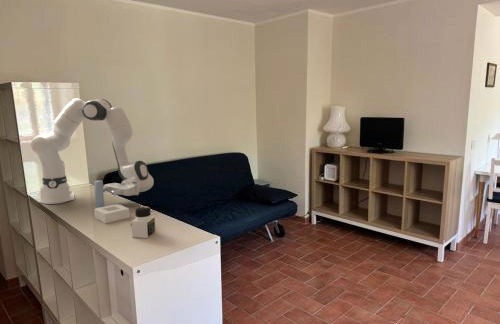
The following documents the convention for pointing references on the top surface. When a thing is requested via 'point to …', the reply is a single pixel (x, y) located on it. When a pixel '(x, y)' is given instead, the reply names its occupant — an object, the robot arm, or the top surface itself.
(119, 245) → the top surface
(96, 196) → the peg
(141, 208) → the medicine bottle
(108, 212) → the socket block
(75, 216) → the top surface
